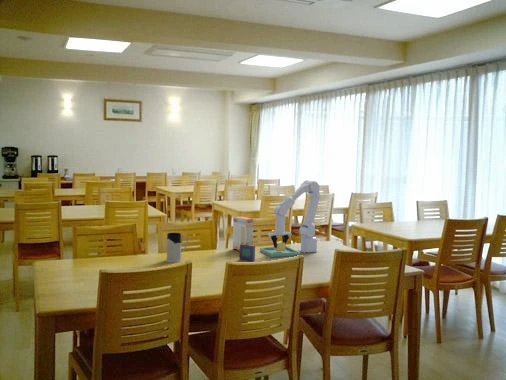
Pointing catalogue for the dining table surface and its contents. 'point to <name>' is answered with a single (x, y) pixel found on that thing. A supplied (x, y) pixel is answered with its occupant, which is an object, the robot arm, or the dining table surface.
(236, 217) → the cracker box
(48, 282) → the dining table surface
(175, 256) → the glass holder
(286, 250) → the teal tray
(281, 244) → the ochre cube
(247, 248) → the blue gift bag
